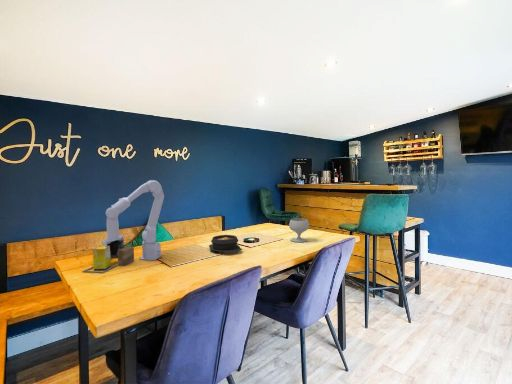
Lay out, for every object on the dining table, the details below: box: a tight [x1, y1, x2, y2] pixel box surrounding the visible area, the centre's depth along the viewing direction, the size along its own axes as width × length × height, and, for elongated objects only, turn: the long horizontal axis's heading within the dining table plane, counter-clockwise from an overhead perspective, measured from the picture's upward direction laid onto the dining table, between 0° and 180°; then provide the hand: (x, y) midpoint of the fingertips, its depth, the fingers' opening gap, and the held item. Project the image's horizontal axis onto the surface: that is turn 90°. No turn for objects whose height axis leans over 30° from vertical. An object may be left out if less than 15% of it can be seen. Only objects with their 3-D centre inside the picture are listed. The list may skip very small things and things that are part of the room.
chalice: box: [288, 218, 310, 243], centre depth 201 cm, size 14×14×15 cm
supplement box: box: [92, 245, 112, 271], centre depth 143 cm, size 6×6×11 cm
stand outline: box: [81, 264, 119, 274], centre depth 142 cm, size 11×11×1 cm
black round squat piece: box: [208, 234, 242, 254], centre depth 176 cm, size 25×19×8 cm
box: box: [111, 239, 125, 259], centre depth 164 cm, size 8×6×11 cm
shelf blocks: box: [110, 246, 135, 267], centre depth 152 cm, size 18×8×8 cm, turn 80°
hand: (114, 255), depth 152 cm, fingers closed
